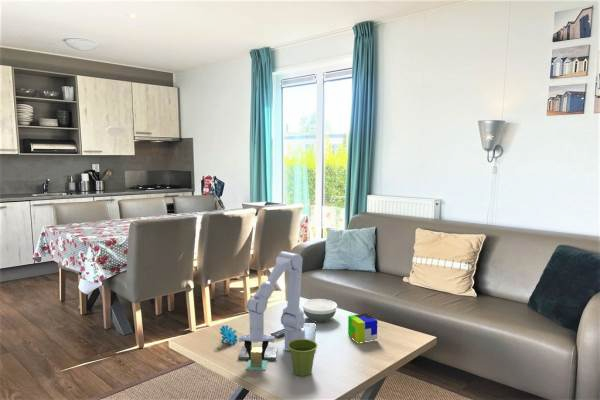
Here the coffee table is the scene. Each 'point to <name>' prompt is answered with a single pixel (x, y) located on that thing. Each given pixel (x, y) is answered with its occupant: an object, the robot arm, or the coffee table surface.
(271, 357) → the rail plate
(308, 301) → the bowl
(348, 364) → the coffee table surface
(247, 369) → the teal mat
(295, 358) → the plant pot
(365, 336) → the puzzle toy
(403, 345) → the coffee table surface
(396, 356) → the coffee table surface
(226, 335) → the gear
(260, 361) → the brass block
